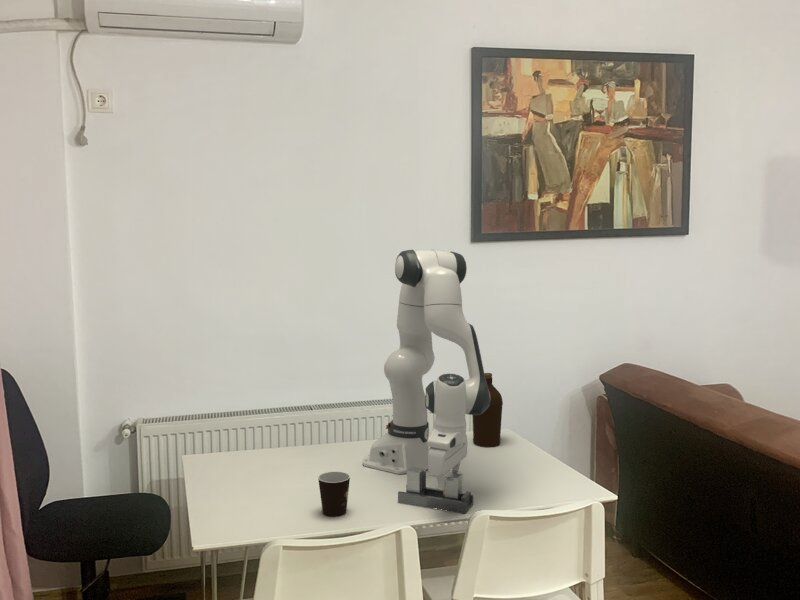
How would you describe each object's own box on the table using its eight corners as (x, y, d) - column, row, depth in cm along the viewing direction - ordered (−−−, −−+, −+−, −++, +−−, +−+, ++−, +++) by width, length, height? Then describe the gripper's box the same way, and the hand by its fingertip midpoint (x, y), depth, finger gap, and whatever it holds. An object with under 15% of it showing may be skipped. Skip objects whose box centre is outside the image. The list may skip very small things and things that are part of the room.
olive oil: (484, 449, 263) (484, 378, 260) (465, 441, 272) (466, 372, 269) (508, 444, 269) (509, 374, 266) (489, 437, 278) (490, 369, 275)
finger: (442, 504, 213) (442, 476, 212) (447, 499, 216) (447, 471, 215) (457, 506, 211) (457, 478, 210) (462, 501, 214) (462, 474, 213)
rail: (397, 502, 216) (397, 471, 215) (407, 494, 223) (407, 464, 222) (465, 513, 208) (465, 481, 207) (473, 504, 215) (473, 473, 214)
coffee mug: (337, 521, 204) (337, 484, 203) (312, 514, 208) (311, 478, 207) (362, 506, 214) (362, 471, 212) (337, 500, 218) (337, 466, 217)
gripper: (453, 422, 222) (451, 468, 223) (424, 442, 203) (423, 492, 205) (473, 425, 219) (472, 472, 221) (446, 445, 201) (445, 496, 202)
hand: (448, 482), depth 213 cm, fingers open, 8 cm apart
